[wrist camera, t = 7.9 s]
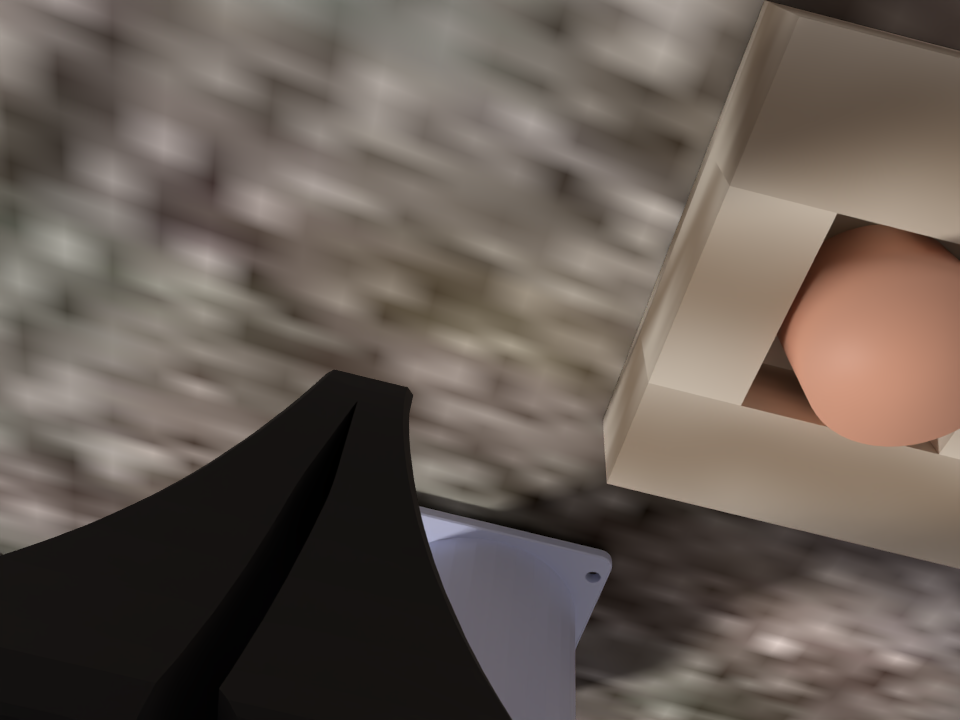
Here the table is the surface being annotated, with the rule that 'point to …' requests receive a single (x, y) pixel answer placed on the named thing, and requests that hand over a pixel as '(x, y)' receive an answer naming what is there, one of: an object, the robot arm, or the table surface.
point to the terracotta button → (879, 336)
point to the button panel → (793, 289)
